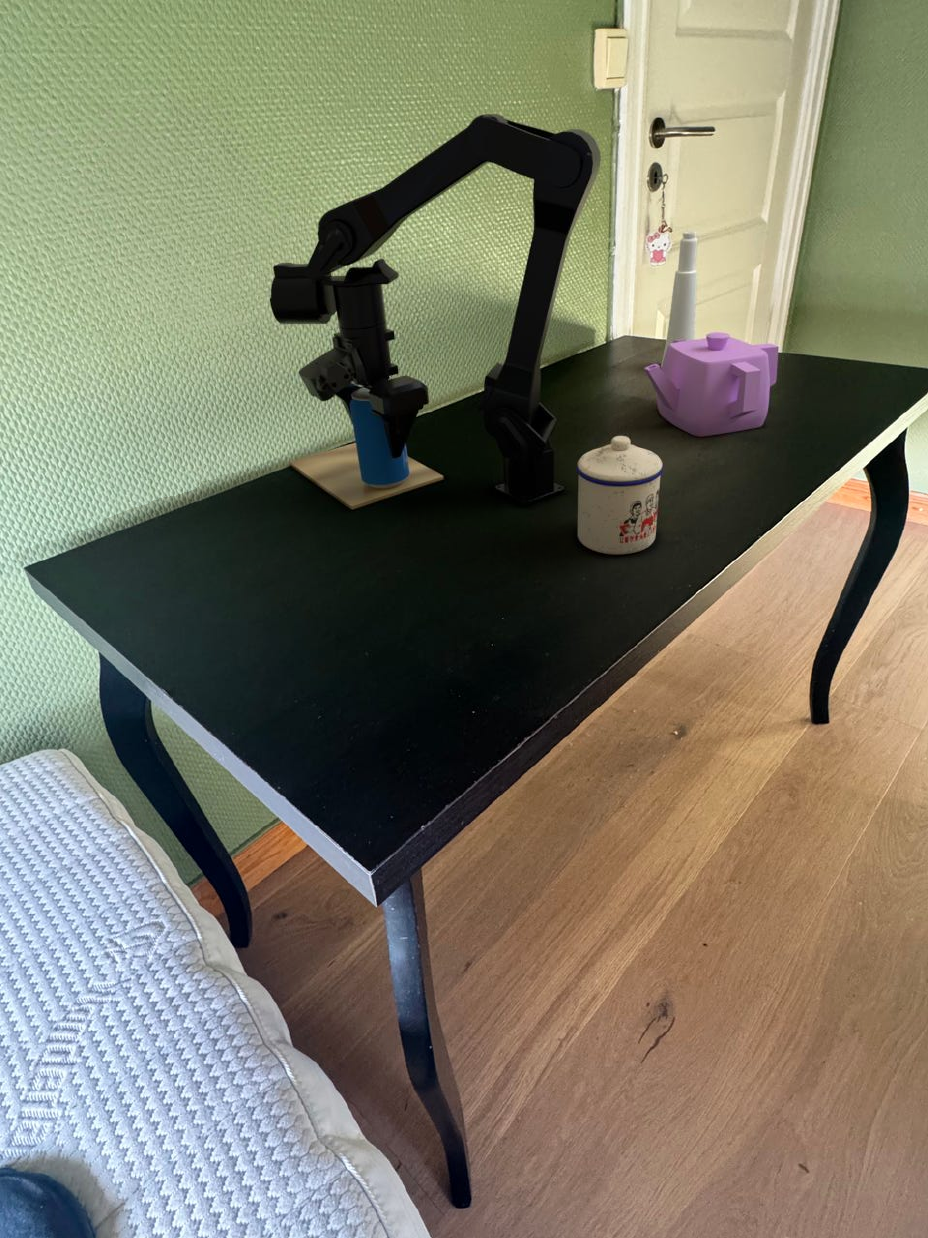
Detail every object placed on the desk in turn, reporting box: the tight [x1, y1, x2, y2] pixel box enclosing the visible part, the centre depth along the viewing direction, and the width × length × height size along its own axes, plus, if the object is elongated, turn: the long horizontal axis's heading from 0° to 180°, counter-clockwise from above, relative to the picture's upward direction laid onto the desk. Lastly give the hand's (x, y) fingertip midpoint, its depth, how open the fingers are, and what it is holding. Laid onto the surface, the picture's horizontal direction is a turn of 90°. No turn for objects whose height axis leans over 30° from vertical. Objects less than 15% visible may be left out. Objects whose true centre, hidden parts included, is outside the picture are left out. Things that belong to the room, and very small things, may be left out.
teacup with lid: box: [576, 435, 664, 556], centre depth 84 cm, size 12×9×12 cm
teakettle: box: [643, 331, 780, 438], centre depth 112 cm, size 17×17×12 cm
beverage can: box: [350, 388, 409, 488], centre depth 99 cm, size 6×6×12 cm
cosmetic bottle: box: [660, 231, 699, 369], centre depth 132 cm, size 6×6×22 cm
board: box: [288, 442, 445, 510], centre depth 107 cm, size 20×14×1 cm
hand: (379, 447), depth 100 cm, fingers open, 9 cm apart
